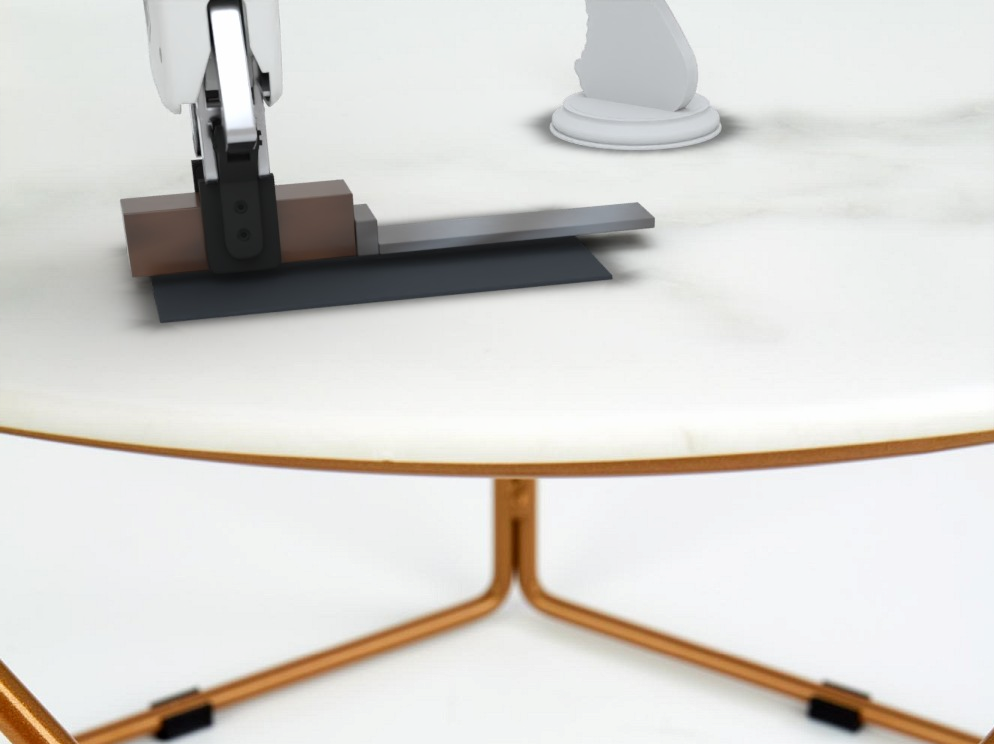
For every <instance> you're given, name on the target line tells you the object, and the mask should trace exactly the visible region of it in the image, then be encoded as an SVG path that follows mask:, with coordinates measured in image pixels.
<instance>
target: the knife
mask: <svg viewBox="0 0 994 744" xmlns="http://www.w3.org/2000/svg"><path fill="white" fill-rule="evenodd" d="M275 192H276V203H277V214H278V225H279V236H280V247H281V258H282V261H281V263H289V262H299V261H310V260H320V259H330V258H341V257H351V256H356V255H358V256H368V255H377V254H390V253H400V252H411V251H421V250H431V249H441V248H452V247H462V246H472V245H483V244H493V243H503V242H514V241H524V240H534V239H545V238H555V237H565V236H585V235H593V234H594V235H595V234H605V233H606V234H607V233H616V232H617V233H618V232H625V231H626V232H627V231H638V230H646V229H654V228H655V227H656V217H655V216H654V215H653V214H652V213H650V212H649V210H647V209H646V208H645V207H644V206H643V205H641V204H640V203H639V202H638V201H636V202H635V201H634V202H626V203H614V204H604V205H592V206H582V207H571V208H562V209H561V208H559V209H550V210H540V211H528V212H518V213H508V214H498V215H486V216H474V217H464V218H455V219H442V220H433V221H422V222H413V223H411V222H410V223H401V224H392V225H391V224H390V225H381V226H378V220H377V219H378V218H377V217H376V216H375V215H374V212H373V211H372V210H371V208H370V207H369V204H368V203H357V204H354V195H353V192H352V191H351V189H350V186H349V185H348V183H347V182H346V181H345V179H343V178H342V179H341V178H339V179H329V180H319V181H308V182H295V183H285V184H275ZM119 204H120V212H121V218H122V226H123V232H124V239H125V246H126V254H127V260H128V265H129V270H130V275H131V278H133V279H134V278H142V277H143V278H144V277H149V276H155V275H165V274H175V273H186V272H196V271H206V270H210V269H209V266H208V261H207V253H206V244H205V235H204V227H203V218H202V210H201V201H200V192H195V191H194V192H193V191H192V192H181V193H170V194H161V195H159V194H158V195H149V196H135V197H125V198H120V199H119Z"/></svg>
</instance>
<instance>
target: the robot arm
mask: <svg viewBox="0 0 994 744" xmlns="http://www.w3.org/2000/svg"><path fill="white" fill-rule="evenodd" d="M279 1H280V0H142V2H143V12H144V21H145V29H146V39H147V49H148V58H149V68H150V72H151V76H152V79H153V82H154V86H155V88H156V91H157V94H158V97H159V99H160V101H161V104H162V106H163V107H164V108H165V109H167V111H169V112H170V113H172V114H173V115H181V114H182V105H188V108H189V118H190V127H191V128H190V129H191V135H192V145H193V151H194V156H195V158H198V159H190V164H191V165H190V166H191V173H192V179H193V181H192V182H193V189H194V192H200V201H201V210H202V218H203V227H204V235H205V244H206V253H207V261H208V266H209V269H210V270H211V271H212V272H213V273H215V274H226V273H237V272H247V271H257V270H268V269H275V268H277V267H279V266H280V264H281V261H282V258H281V247H280V236H279V225H278V214H277V203H276V192H275V185H276V184H275V183H276V182H275V176H274V173H273V172H271V165H270V155H269V154H270V153H269V144H268V134H267V123H266V108H265V105H266V106H267V107H268V108H271V107H273V106H274V105H275V104H276V103H277V102H278V101H279V100H280V98H282V95H283V92H284V91H283V90H284V89H283V87H284V85H283V58H282V57H283V55H282V54H283V53H282V52H283V51H282V35H281V17H280V2H279ZM264 103H265V104H264Z"/></svg>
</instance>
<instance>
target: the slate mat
mask: <svg viewBox="0 0 994 744" xmlns="http://www.w3.org/2000/svg"><path fill="white" fill-rule="evenodd" d="M148 277H149V280H150V285H151V289H152V294H153V297H154V302H155V305H156V310H157V315H158V318H159V323H161V324H167V323H175V322H187V321H197V320H198V321H199V320H206V319H207V320H208V319H217V318H227V317H228V318H229V317H238V316H247V315H258V314H271V313H279V312H289V311H290V312H291V311H301V310H310V309H320V308H331V307H341V306H352V305H362V304H372V303H373V304H374V303H384V302H393V301H402V300H411V299H412V300H413V299H424V298H434V297H435V298H436V297H444V296H445V297H446V296H453V295H454V296H455V295H464V294H465V295H467V294H475V293H487V292H495V291H506V290H515V289H526V288H527V289H528V288H536V287H546V286H557V285H567V284H568V285H569V284H579V283H587V282H597V281H607V280H608V281H609V280H613V274H612V273H611V272H610V271H609V270H608V269H607V268H606V267H605V265H603V263H601V261H600V260H599V259H598V258H597V257H596V256H595V255H594V254H593V253H592V252H591V251H590V250H589V249H588V248H587V246H586V245H584V243H583V242H582V241H581V240H580V239H579V238H578V237H577V235H575V236H565V237H555V238H545V239H534V240H524V241H514V242H503V243H493V244H483V245H472V246H462V247H452V248H441V249H431V250H421V251H411V252H400V253H390V254H377V255H368V256H358V255H356V256H351V257H341V258H330V259H320V260H310V261H299V262H289V263H281V264H280V266H279V267H277V268H275V269H268V270H257V271H247V272H237V273H226V274H215V273H213V272H212V271H211V270H206V271H196V272H186V273H175V274H165V275H155V276H148Z"/></svg>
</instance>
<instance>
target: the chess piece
mask: <svg viewBox="0 0 994 744" xmlns="http://www.w3.org/2000/svg"><path fill="white" fill-rule="evenodd" d="M584 3H585V13H586V15H587V21H586V33H585V38H586V42H585V44H584V48H583V50H582V51H581V53H580V58H577V59H575V60H574V63H573V64H574V65H573V66H574V67H573V69H574V72H575V74H576V76H577V78H578V81H579V86H580V89H581V91H578V92H575V93H573V94H570V95H568V96H566V97H565V98H564V100H563V101H562V105H560V107H558V108H557V109H556V110H555V111H554V112H553V113H552V115H551V122H550V124H549V131H550V132H551V134H552V135H553V136H555V137H556V138H558V139H560V140H563V141H565V142H568V143H571V144H574V145H575V144H576V145H579V146H584V147H590V148H597V149H606V150H619V151H652V150H654V151H655V150H665V149H675V148H681V147H688V146H692V145H697V144H700V143H704V142H707V141H709V140H712V139H714V138H715V137H716V136H718V135H720V133H721V131H722V127H723V126H722V123H721V121H720V120H721V118H720V117H721V116H720V114H719V112H718V111H717V109H715V108H714V107H713V106H711V105H710V104H711V103H710V100H709V99H708V98H707V97H706V96H704V95H702V94H699V93H697V88H698V83H699V67H698V62H697V58H696V56H695V55H696V54H695V52H694V50H693V48H692V46H691V44H690V41H689V40H688V38H687V36H686V35H685V33H684V30H683V29H682V27H681V25H680V23H679V21H678V20H677V18H676V16H675V14H674V12H673V10H672V9H671V8H670V6H669V4H668V3H667V1H666V0H584Z"/></svg>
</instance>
